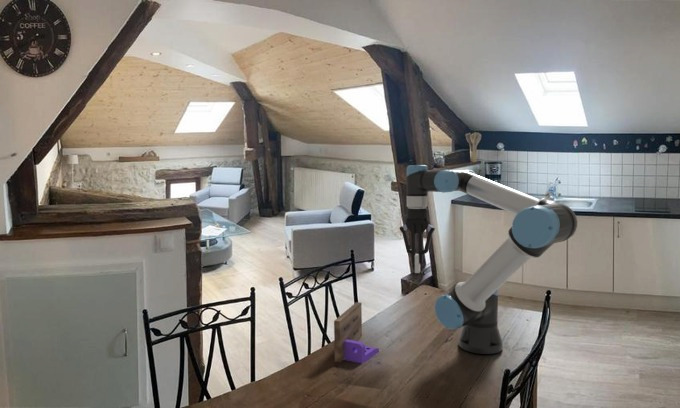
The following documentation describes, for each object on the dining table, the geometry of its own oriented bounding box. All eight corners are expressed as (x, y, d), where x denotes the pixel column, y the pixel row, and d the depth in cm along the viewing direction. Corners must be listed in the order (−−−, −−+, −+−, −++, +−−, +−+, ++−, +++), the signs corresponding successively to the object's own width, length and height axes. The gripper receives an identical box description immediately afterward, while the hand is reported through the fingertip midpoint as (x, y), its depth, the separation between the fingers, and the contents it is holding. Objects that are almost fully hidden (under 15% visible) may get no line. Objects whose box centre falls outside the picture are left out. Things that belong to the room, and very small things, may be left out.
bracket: (362, 364, 164) (362, 344, 164) (344, 361, 168) (344, 341, 168) (378, 353, 175) (378, 333, 174) (361, 349, 178) (361, 330, 178)
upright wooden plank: (362, 339, 188) (361, 302, 187) (340, 362, 166) (340, 321, 165) (356, 338, 189) (356, 302, 188) (334, 361, 166) (334, 320, 165)
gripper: (436, 207, 181) (437, 271, 182) (401, 206, 185) (402, 269, 187) (433, 208, 174) (433, 275, 175) (397, 208, 178) (397, 273, 180)
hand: (417, 272), depth 181 cm, fingers closed
